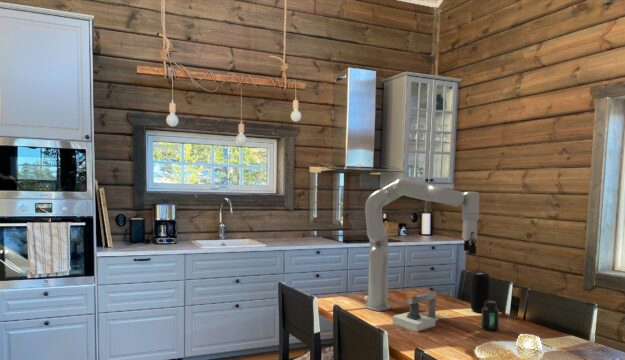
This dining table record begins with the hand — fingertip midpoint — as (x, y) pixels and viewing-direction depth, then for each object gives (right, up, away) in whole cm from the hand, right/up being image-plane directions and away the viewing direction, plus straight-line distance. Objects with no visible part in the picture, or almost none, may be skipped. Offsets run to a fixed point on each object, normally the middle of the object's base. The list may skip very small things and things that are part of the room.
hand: (469, 252), depth 200 cm
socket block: (-28, -30, -16) cm, 44 cm away
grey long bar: (-27, -19, -15) cm, 36 cm away
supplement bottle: (+2, -31, -19) cm, 36 cm away
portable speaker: (+8, -31, +7) cm, 33 cm away
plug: (-32, -29, -18) cm, 46 cm away
